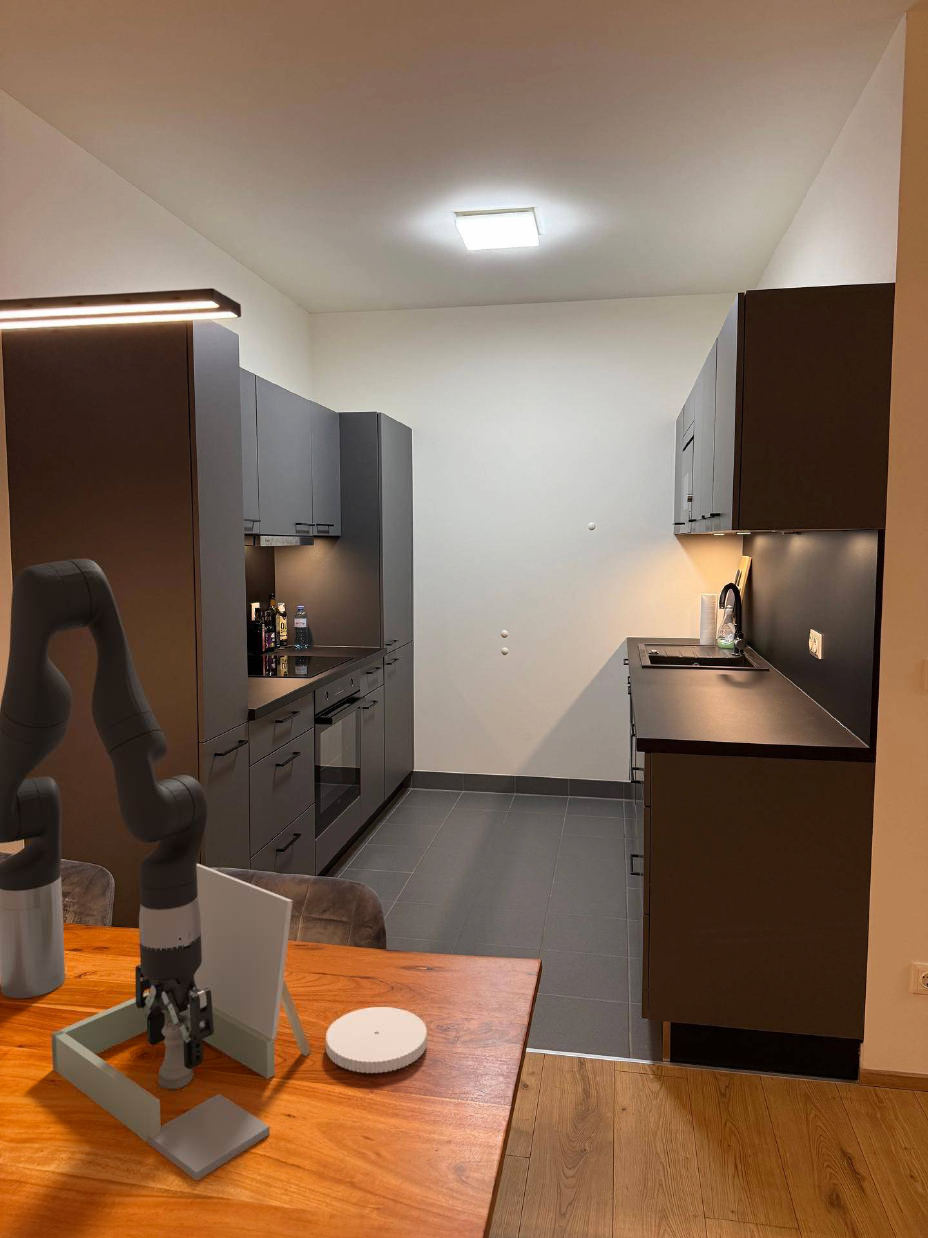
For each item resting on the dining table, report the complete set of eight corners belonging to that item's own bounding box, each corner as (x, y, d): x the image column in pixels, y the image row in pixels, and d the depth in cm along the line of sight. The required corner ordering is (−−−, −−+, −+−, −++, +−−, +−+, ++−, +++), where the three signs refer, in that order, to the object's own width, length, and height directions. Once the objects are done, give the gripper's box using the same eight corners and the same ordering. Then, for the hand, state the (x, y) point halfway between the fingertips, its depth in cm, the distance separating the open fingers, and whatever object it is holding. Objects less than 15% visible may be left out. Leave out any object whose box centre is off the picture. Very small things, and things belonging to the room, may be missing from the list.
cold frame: (53, 1070, 119) (49, 981, 118) (209, 998, 137) (207, 921, 136) (151, 1147, 103) (148, 1046, 102) (312, 1054, 122) (310, 968, 121)
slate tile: (147, 1142, 104) (146, 1134, 104) (219, 1101, 112) (219, 1093, 112) (196, 1181, 98) (196, 1172, 98) (269, 1134, 105) (269, 1126, 105)
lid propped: (169, 983, 132) (165, 866, 130) (191, 973, 135) (188, 859, 133) (271, 1040, 117) (269, 909, 115) (295, 1028, 120) (292, 899, 118)
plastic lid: (330, 1087, 115) (330, 1068, 115) (322, 1030, 129) (322, 1013, 129) (435, 1072, 118) (435, 1054, 118) (417, 1018, 132) (417, 1002, 132)
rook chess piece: (201, 1074, 117) (199, 1016, 117) (179, 1094, 113) (177, 1034, 113) (172, 1068, 119) (170, 1011, 118) (150, 1087, 115) (148, 1028, 114)
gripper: (114, 928, 116) (119, 1047, 117) (175, 959, 107) (180, 1088, 108) (165, 910, 122) (169, 1024, 123) (228, 938, 112) (231, 1061, 114)
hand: (174, 1054), depth 115 cm, fingers open, 8 cm apart
